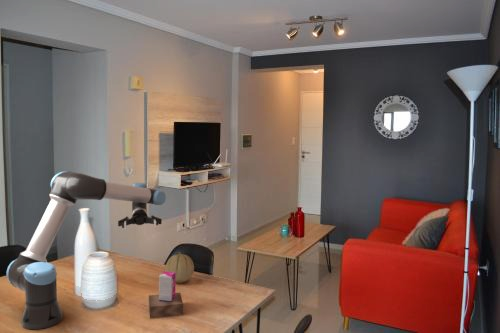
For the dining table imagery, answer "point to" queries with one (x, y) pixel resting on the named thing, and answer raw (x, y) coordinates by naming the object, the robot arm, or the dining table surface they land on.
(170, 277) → the supplement box
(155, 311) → the walnut block
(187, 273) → the cantaloupe
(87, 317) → the dining table surface
